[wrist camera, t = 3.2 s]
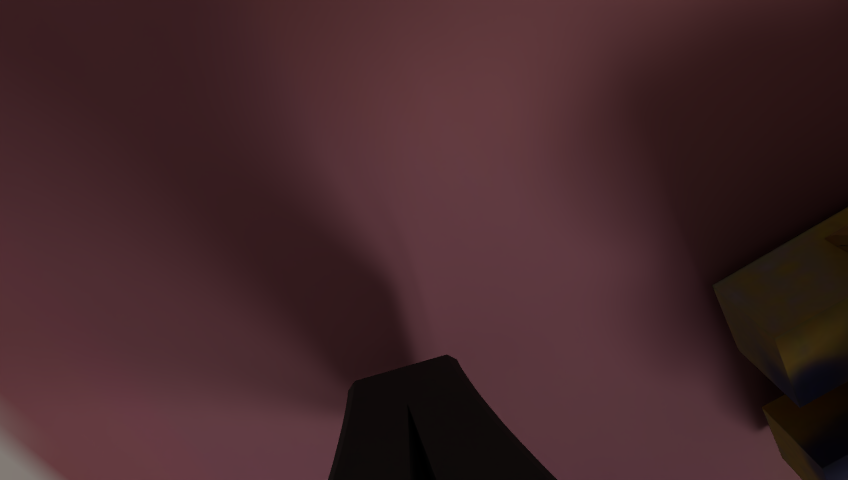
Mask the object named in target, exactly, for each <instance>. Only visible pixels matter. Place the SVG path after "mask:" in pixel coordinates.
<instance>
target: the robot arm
mask: <svg viewBox="0 0 848 480" xmlns="http://www.w3.org/2000/svg"><path fill="white" fill-rule="evenodd" d="M328 480H557V479H556V478H555V477H554V476H553V475H552V474H551V473H550V472H549V471H548V470H547V469H546V468H545V467H544V466H543V465H542V464H541V463H540V462H539V461H538V460H537V459H536V458H535V457H534V456H533V455H532V453H531V452H530V451H529V450H528V449H527V448H526V447H525V446H524V445H523V444H522V443H521V442H520V441H519V440H518V439H517V438H516V437H515V436H514V434H513V433H512V432H511V431H510V430H509V429H508V428H507V427H506V426H505V424H504V423H503V422H502V421H501V420H500V419H499V418H498V416H497V415H496V414H495V413H494V411H493V410H492V409H491V408H490V407H489V405H488V404H487V403H486V402H485V401H484V399H483V398H482V397H481V395H480V394H479V393H478V391H477V390H476V389H475V388H474V386H473V385H472V383H471V382H470V381H469V379H468V378H467V376H466V374H465V373H464V371H463V370H462V368H461V367H460V365H459V363H458V361H457V359H455V358H453V357H451V356H449V355H444V356H440V357H437V358H433V359H430V360H426V361H423V362H419V363H416V364H412V365H409V366H405V367H402V368H398V369H395V370H392V371H388V372H385V373H381V374H378V375H374V376H371V377H367V378H364V379H360V380H357V381H355V382H354V383H353V385H352V386H351V388H350V389H349V391H348V398H347V404H346V410H345V415H344V420H343V425H342V429H341V433H340V438H339V442H338V445H337V449H336V453H335V457H334V461H333V465H332V468H331V472H330V475H329V478H328Z"/></svg>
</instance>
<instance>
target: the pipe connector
mask: <svg viewBox="0 0 848 480" xmlns="http://www.w3.org/2000/svg"><path fill="white" fill-rule="evenodd" d="M712 286H713V289H714V291H715V294H716V296H717V299H718V301H719V304H720V306H721V308H722V311H723V313H724V316H725V318H726V321H727V323H728V326H729V328H730V331H731V333H732V335H733V338H734V340H735V343H736V345H737V348H738V350H739V351H740V352H741V353H742V354H743V355H744V356H745V357H746V358H747V359H748V360H750V361H751V362H752V363H753V364H754V365H755V366H756V367H757V368H758V369H759V370H760V371H761V372H762V373H763V374H764V375H765V376H767V377H768V378H769V379H770V380H771V381H772V382H773V383H774V384H775V385H776V386H777V387H778V388H779V389H780V390H781V391H782V392H783V393H785V394H784V395H782V396H781V397H779V398H777V399H775V400H773V401H772V402H770V403H768V404H766V405H765V406H763V407H762V409H763V412H764V414H765V416H766V419H767V421H768V424H769V426H770V429H771V431H772V434H773V436H774V439H775V441H776V443H777V446H778V448H779V451H780V453H781V456H782V458H783V459H784V460H785V461H786V462H787V464H788V465H789V466H790V467H791V468H792V469H793V470H794V471H795V472H796V473H797V474H798V475H799V476H800V478H801V479H802V480H848V207H847V208H845V209H843V210H842V211H840V212H838V213H836V214H835V215H833V216H831V217H829V218H828V219H826V220H824V221H823V222H821V223H819V224H817V225H816V226H814V227H812V228H810V229H809V230H807V231H805V232H804V233H802V234H800V235H798V236H797V237H795V238H793V239H791V240H790V241H788V242H786V243H785V244H783V245H781V246H779V247H778V248H776V249H774V250H772V251H771V252H769V253H767V254H766V255H764V256H762V257H760V258H759V259H757V260H755V261H753V262H752V263H750V264H748V265H747V266H745V267H743V268H741V269H740V270H738V271H736V272H735V273H733V274H731V275H729V276H728V277H726V278H724V279H722V280H721V281H719V282H717V283H716V284H714V285H712Z"/></svg>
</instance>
